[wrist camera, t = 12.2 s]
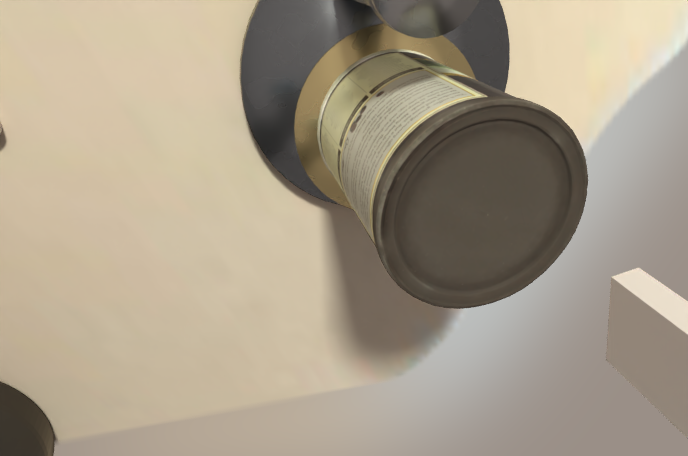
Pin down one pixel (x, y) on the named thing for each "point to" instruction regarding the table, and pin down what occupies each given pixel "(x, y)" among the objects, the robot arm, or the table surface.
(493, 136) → the coffee can
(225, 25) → the table surface
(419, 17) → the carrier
